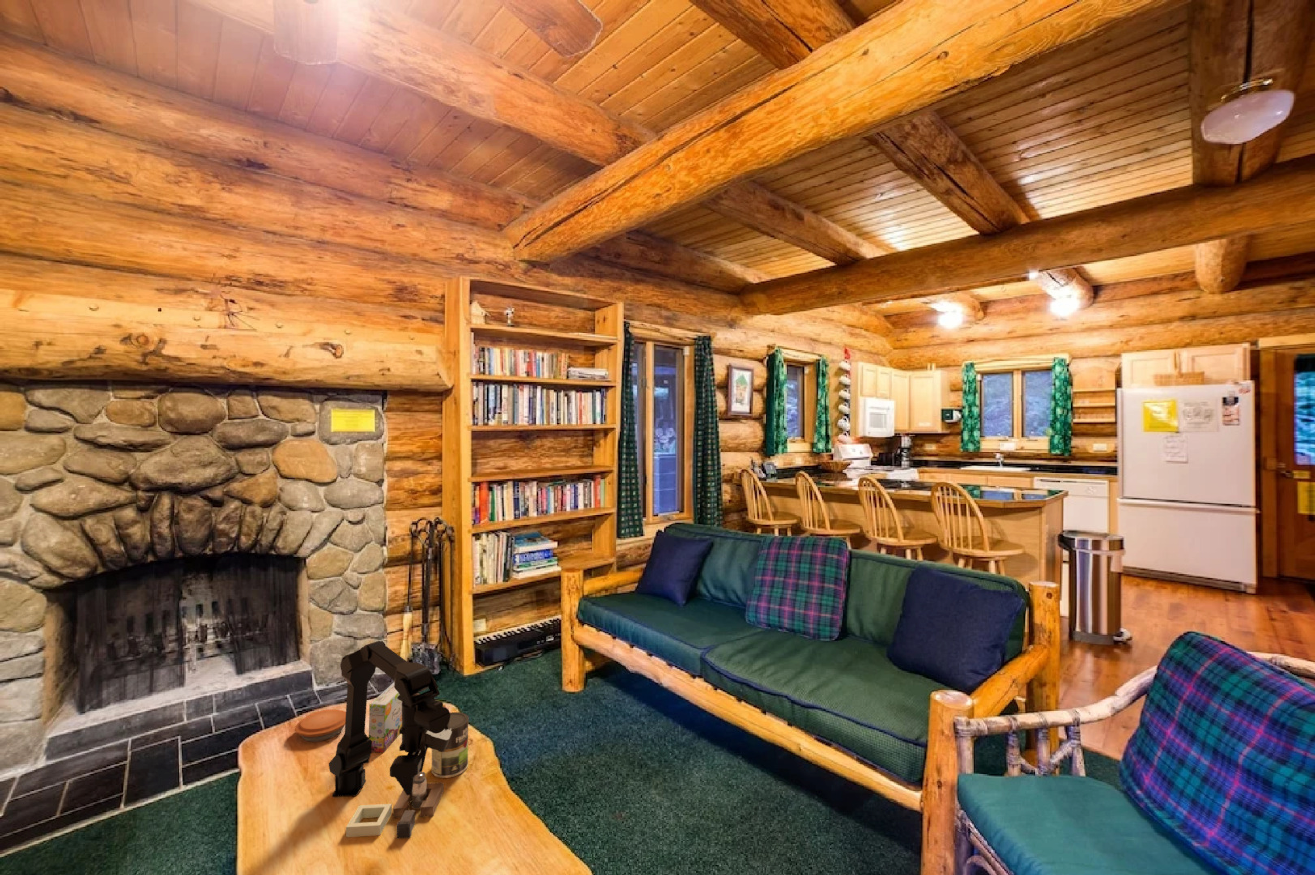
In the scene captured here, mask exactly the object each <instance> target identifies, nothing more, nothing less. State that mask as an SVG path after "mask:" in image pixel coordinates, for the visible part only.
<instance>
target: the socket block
mask: <svg viewBox="0 0 1315 875" xmlns="http://www.w3.org/2000/svg"><path fill="white" fill-rule="evenodd" d="M444 784H445V783H444V781H442V782H427V794H426V801H423V802H422V805H421V807H420V808H419V816H420V818H421V817H433V816H434V815H435V813H436V810H437V808H438V806H439V803H440V801H441V798H442V796H443V793H444ZM411 804H412V794H411V795H406V793H405V792H404V790H403V789H402V791H401V793H400V795H399V796H398V799H397V800H396V803H395V804H394V806H393V808H392V819H401V818H402V816H403V814H404V812H405V811H406V810H410V805H411Z"/></svg>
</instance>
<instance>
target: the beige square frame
mask: <svg viewBox="0 0 1315 875" xmlns="http://www.w3.org/2000/svg"><path fill="white" fill-rule="evenodd" d="M392 804H393V803H382V804H381V803H380V804H378V803H376V804H363V805H362V804H361V805H358V807H357V809H356V810H355V812H354V814H353V816H352V817H351V818H350V820H349V822H347V825H346V826H345V837H346V838H356V837H358V838H359V837H373V836H374V837H375V836H381V834H382V832H383V831H384V829H385V827H386V825H387V823H388V821H389V820H390V818H391V815H393V808H392V807H393V806H392ZM365 818H368V819H369V818H378V819H377V821H371V822H370V821H368V822H361V821H362V820H363V819H365Z"/></svg>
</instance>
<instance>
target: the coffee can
mask: <svg viewBox="0 0 1315 875" xmlns="http://www.w3.org/2000/svg"><path fill="white" fill-rule="evenodd" d="M469 720H470V718H469V715H467V714H466V713H463V712H458V711H454V712H450V721H449V725H450V728H451V731H452V734H451V736H450V739H449V742H448V744H447V747H446V749H445V751H444V752H439V751H438V750H435V749H431V774H432V775H433V776H434V777H436V778H441V779H450V778H453V777H456V776H457V777H458V776H459V775H461V774H462V773H465V771H466V770H467V768H468V767H469ZM449 730H450V729H449Z"/></svg>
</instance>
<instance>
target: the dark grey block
mask: <svg viewBox="0 0 1315 875" xmlns="http://www.w3.org/2000/svg"><path fill="white" fill-rule="evenodd" d="M415 825H416V809H409V810H406V811H405V812H404V814H403V816H402V818H400V819H399V821H397V823H396V839H410V838H412V837H411V836H412V831H413V829H414V827H415Z"/></svg>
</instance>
